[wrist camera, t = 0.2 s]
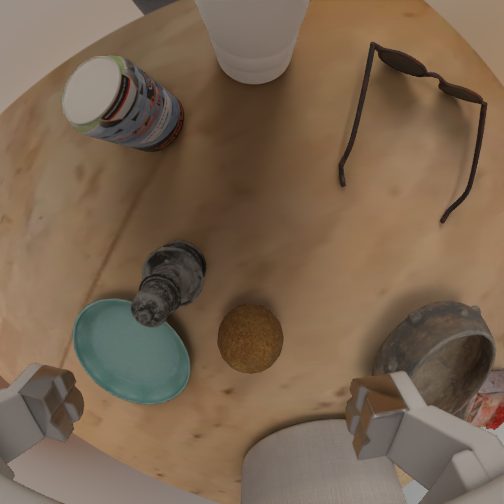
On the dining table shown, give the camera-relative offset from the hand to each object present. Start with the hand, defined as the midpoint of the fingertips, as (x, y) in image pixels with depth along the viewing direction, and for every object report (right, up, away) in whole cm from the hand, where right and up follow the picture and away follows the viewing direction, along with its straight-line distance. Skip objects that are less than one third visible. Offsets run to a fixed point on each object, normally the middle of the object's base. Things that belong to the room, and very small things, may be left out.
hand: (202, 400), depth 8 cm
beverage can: (-8, +17, +20) cm, 27 cm away
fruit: (+1, -3, +25) cm, 25 cm away
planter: (+11, -28, +32) cm, 44 cm away
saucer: (-13, -7, +26) cm, 30 cm away
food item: (+37, -17, +28) cm, 49 cm away
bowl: (+21, -6, +26) cm, 34 cm away
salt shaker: (-6, +3, +24) cm, 24 cm away
